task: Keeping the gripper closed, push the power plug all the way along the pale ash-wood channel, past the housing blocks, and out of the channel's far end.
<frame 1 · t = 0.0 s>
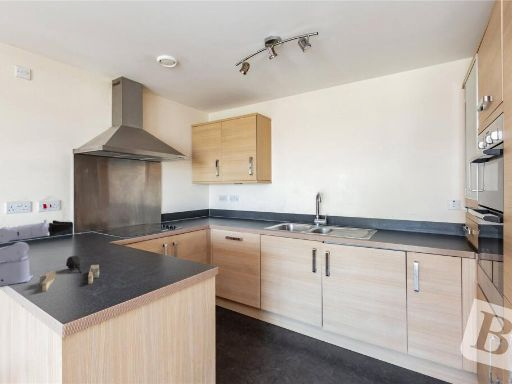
hand: (71, 225, 121), 22 cm above the table, tool horizontal, fingers open, 7 cm apart
power plug: (76, 270, 126), on the table
guide channel: (71, 280, 112), on the table
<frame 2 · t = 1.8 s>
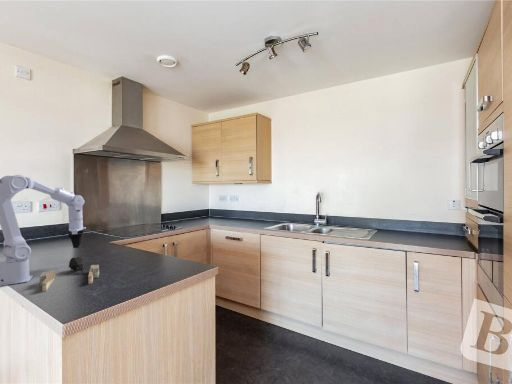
hand: (76, 246, 133), 9 cm above the table, tool pointing down, fingers open, 5 cm apart
power plug: (79, 272, 124), on the table
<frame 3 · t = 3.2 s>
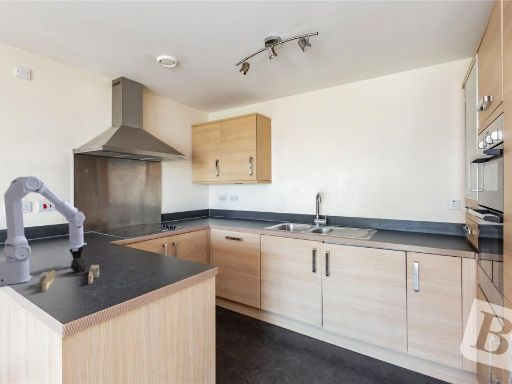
hand: (77, 262, 133), 1 cm above the table, tool pointing down, fingers closed
power plug: (81, 273, 122), on the table
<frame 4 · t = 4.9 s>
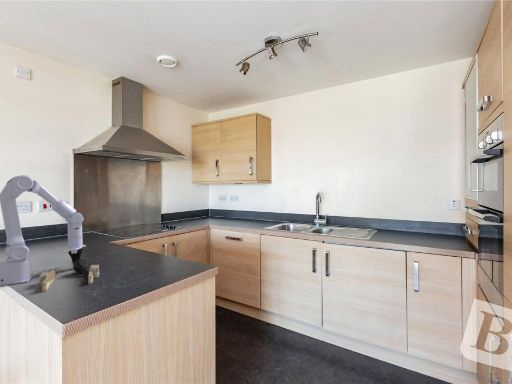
hand: (76, 265, 129), 1 cm above the table, tool pointing down, fingers closed
power plug: (83, 274, 120), on the table
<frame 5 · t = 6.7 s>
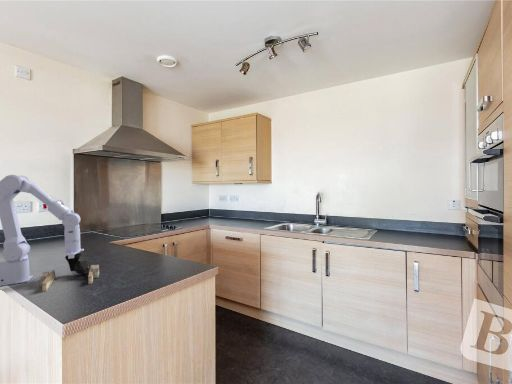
hand: (73, 270, 120), 1 cm above the table, tool pointing down, fingers closed
power plug: (84, 276, 117), on the table, touching gripper
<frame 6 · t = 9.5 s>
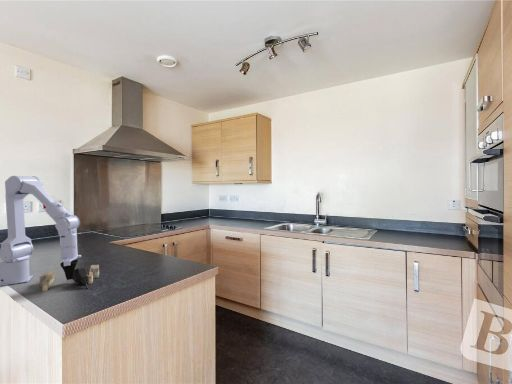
hand: (70, 279, 110), 1 cm above the table, tool pointing down, fingers closed
power plug: (83, 285, 107), on the table
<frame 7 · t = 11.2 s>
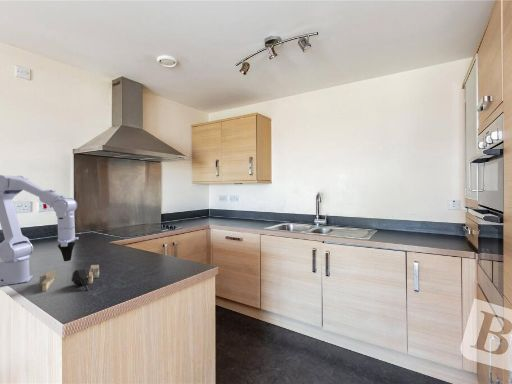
hand: (67, 260, 111), 8 cm above the table, tool pointing down, fingers closed
power plug: (83, 287, 105), on the table
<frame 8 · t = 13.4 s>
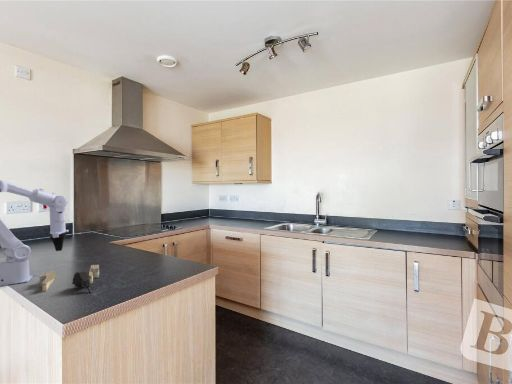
hand: (58, 250, 126), 9 cm above the table, tool pointing down, fingers closed
power plug: (84, 290, 102), on the table
at the end: power plug inside the target area (1.8 cm from its centre), on the table; power plug moved 31.1 cm from its start; power plug tilted 1° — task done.
